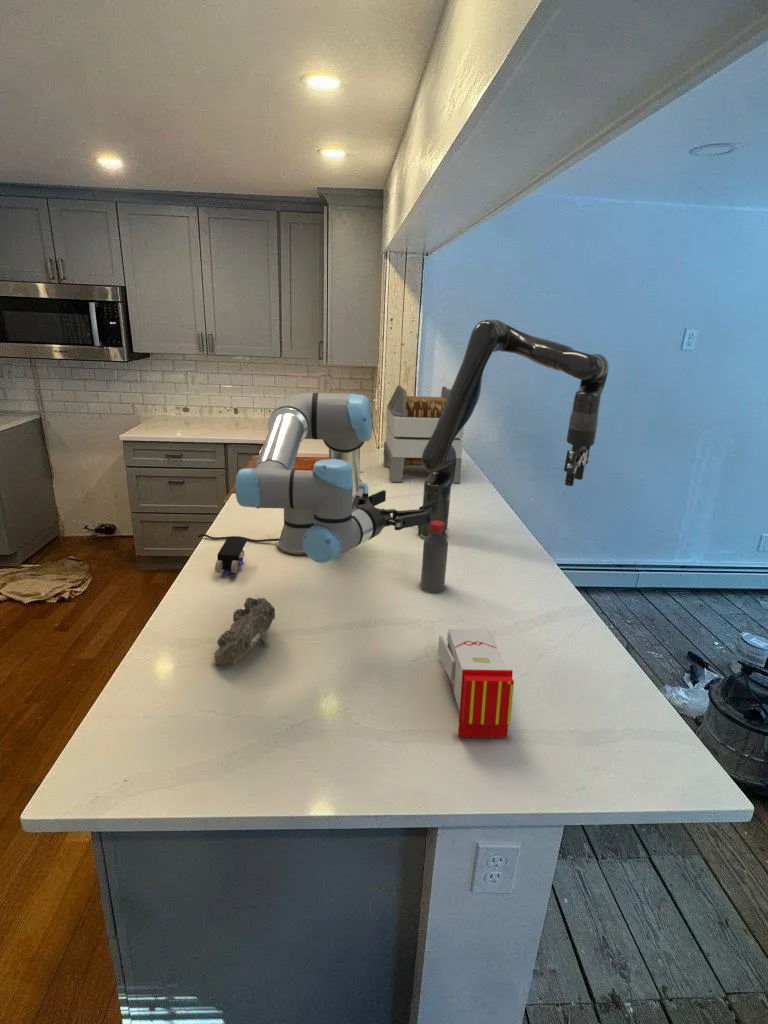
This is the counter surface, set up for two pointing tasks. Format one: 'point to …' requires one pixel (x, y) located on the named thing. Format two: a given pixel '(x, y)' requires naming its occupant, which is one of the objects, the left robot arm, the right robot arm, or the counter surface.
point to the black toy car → (230, 556)
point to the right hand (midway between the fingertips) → (573, 482)
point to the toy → (478, 682)
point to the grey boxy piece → (414, 431)
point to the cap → (437, 526)
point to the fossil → (245, 630)
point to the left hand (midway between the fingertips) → (408, 500)
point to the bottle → (434, 562)
